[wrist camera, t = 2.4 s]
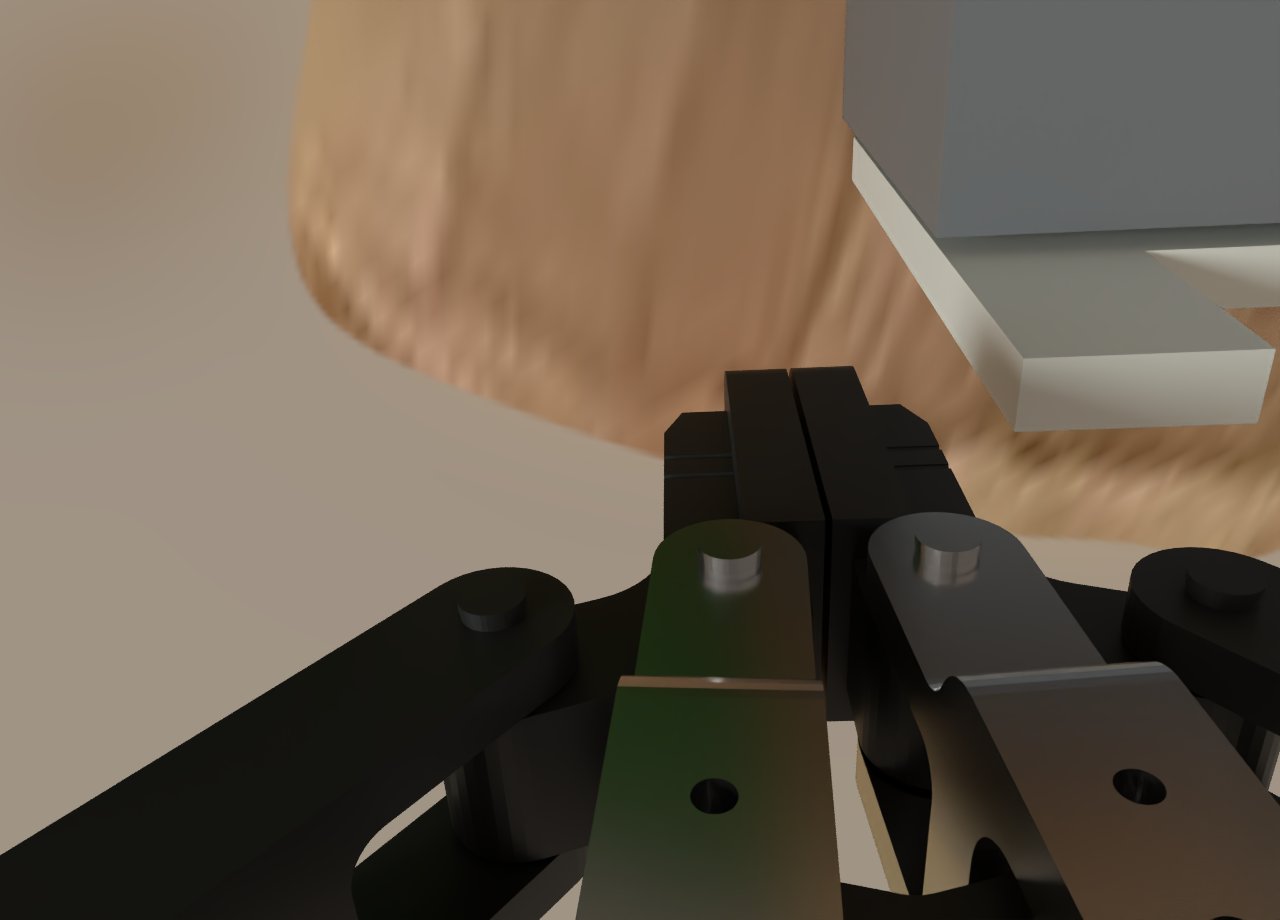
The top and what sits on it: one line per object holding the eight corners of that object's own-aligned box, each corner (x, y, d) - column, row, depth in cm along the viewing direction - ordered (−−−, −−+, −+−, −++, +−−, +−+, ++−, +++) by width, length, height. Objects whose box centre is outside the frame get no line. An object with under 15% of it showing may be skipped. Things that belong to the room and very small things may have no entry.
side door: (853, 137, 25) (1023, 358, 13) (1274, 116, 24) (1850, 325, 12) (851, 184, 25) (1012, 439, 13) (1263, 164, 25) (1807, 411, 13)
